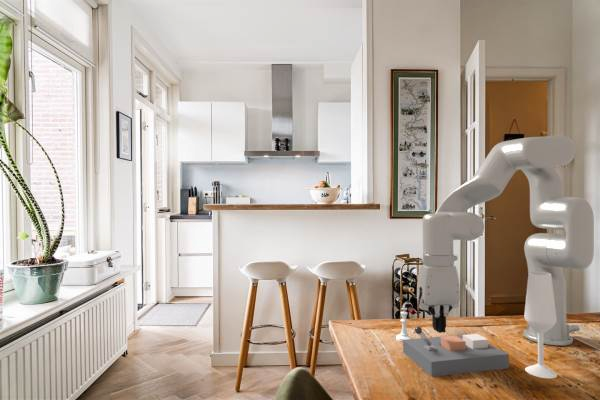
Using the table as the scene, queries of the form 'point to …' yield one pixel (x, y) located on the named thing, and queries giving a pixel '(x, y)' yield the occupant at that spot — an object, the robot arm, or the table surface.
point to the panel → (453, 357)
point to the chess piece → (403, 327)
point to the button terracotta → (453, 343)
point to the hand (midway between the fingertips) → (439, 330)
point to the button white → (475, 341)
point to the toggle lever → (422, 336)
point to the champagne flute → (540, 316)
